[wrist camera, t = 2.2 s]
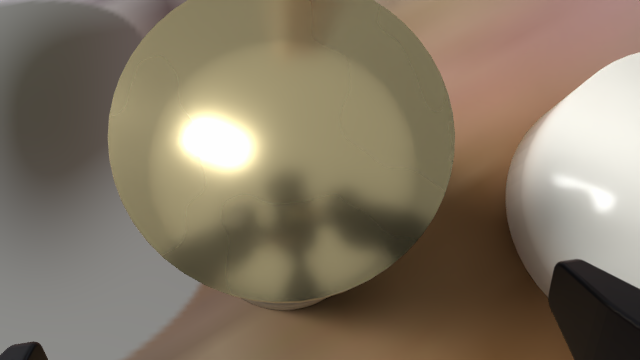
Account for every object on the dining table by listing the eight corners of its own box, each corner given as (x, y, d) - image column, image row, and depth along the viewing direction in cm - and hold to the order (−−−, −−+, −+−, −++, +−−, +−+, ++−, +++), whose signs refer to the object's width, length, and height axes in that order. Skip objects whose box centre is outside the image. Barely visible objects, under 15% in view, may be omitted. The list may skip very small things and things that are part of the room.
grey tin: (391, 277, 20) (510, 226, 10) (231, 339, 19) (166, 359, 9) (331, 128, 22) (378, -61, 11) (179, 179, 21) (69, 27, 10)
